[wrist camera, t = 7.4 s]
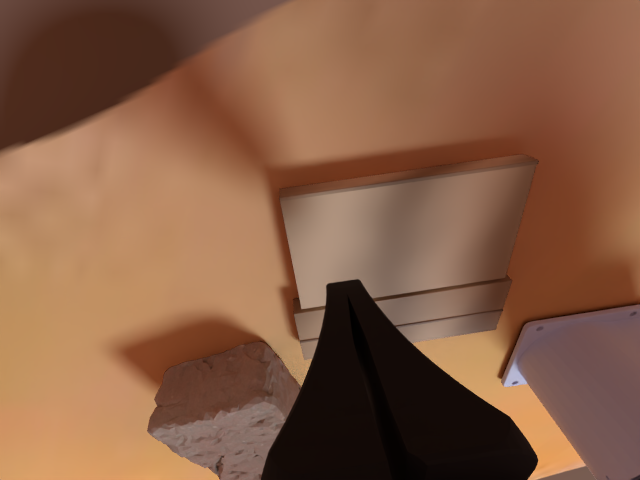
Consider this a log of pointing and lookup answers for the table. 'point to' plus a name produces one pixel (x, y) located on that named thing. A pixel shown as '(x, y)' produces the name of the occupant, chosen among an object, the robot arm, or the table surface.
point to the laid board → (423, 312)
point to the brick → (225, 409)
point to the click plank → (407, 227)
